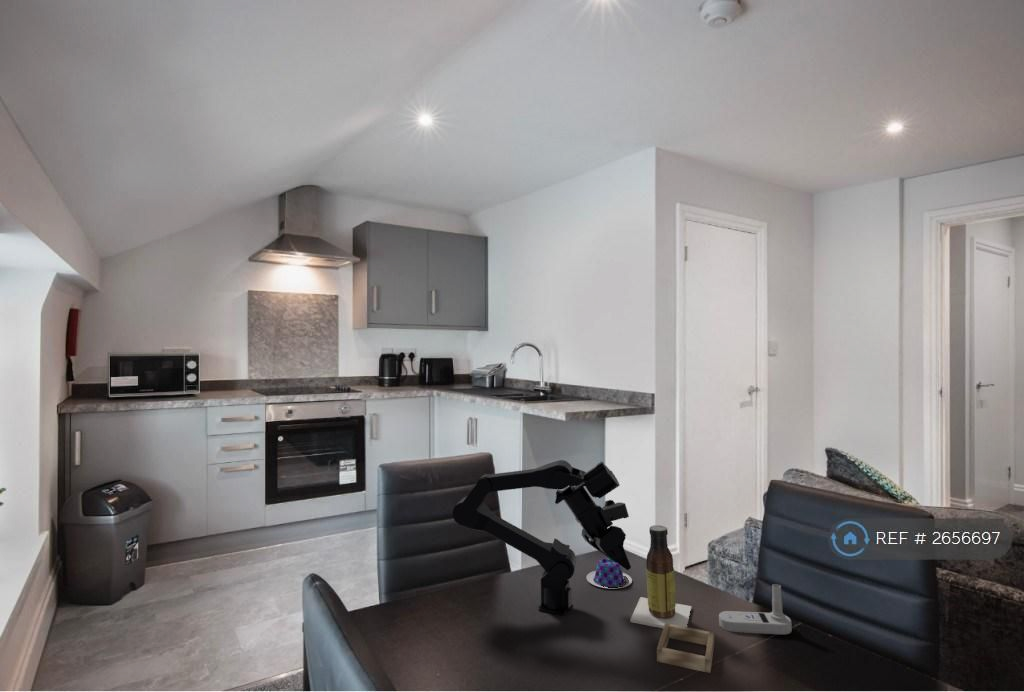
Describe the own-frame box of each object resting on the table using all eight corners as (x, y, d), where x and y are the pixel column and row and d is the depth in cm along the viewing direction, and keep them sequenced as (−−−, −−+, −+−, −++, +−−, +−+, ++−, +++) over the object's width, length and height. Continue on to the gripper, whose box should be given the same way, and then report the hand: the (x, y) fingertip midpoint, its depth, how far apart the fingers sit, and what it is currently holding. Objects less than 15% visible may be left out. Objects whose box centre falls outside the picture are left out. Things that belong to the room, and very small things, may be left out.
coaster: (630, 622, 125) (630, 619, 125) (640, 599, 136) (640, 597, 136) (685, 632, 120) (685, 630, 120) (691, 608, 131) (691, 606, 131)
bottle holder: (656, 661, 109) (656, 648, 109) (665, 634, 119) (665, 623, 119) (710, 673, 105) (710, 660, 105) (714, 644, 115) (714, 632, 115)
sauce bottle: (670, 606, 131) (669, 522, 131) (679, 619, 125) (679, 531, 125) (643, 607, 130) (642, 523, 130) (651, 620, 124) (650, 532, 124)
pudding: (582, 572, 153) (582, 553, 153) (625, 571, 153) (625, 552, 153) (591, 592, 141) (591, 571, 141) (637, 590, 141) (637, 570, 141)
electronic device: (715, 578, 126) (785, 581, 123) (717, 621, 126) (787, 624, 123) (720, 589, 121) (793, 591, 118) (721, 633, 121) (795, 637, 118)
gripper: (622, 490, 123) (664, 550, 121) (600, 486, 141) (636, 538, 140) (582, 520, 121) (625, 581, 119) (566, 512, 139) (602, 565, 137)
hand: (623, 565), depth 129 cm, fingers open, 9 cm apart
